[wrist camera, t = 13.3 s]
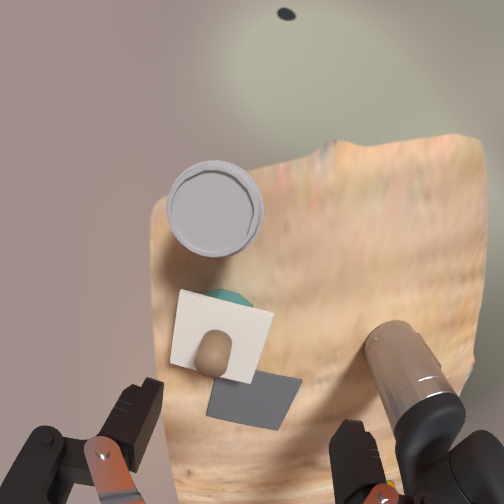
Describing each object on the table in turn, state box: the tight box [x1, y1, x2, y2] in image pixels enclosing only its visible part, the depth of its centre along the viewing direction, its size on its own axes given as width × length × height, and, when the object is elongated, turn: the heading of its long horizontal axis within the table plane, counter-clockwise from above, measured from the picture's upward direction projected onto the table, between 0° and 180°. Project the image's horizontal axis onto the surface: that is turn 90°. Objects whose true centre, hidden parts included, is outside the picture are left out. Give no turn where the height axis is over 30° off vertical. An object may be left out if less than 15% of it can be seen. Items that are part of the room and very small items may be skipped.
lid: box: [170, 289, 274, 384], centre depth 37 cm, size 12×12×6 cm
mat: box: [206, 370, 302, 430], centre depth 49 cm, size 14×14×1 cm
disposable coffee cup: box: [167, 160, 264, 258], centre depth 33 cm, size 10×10×12 cm
